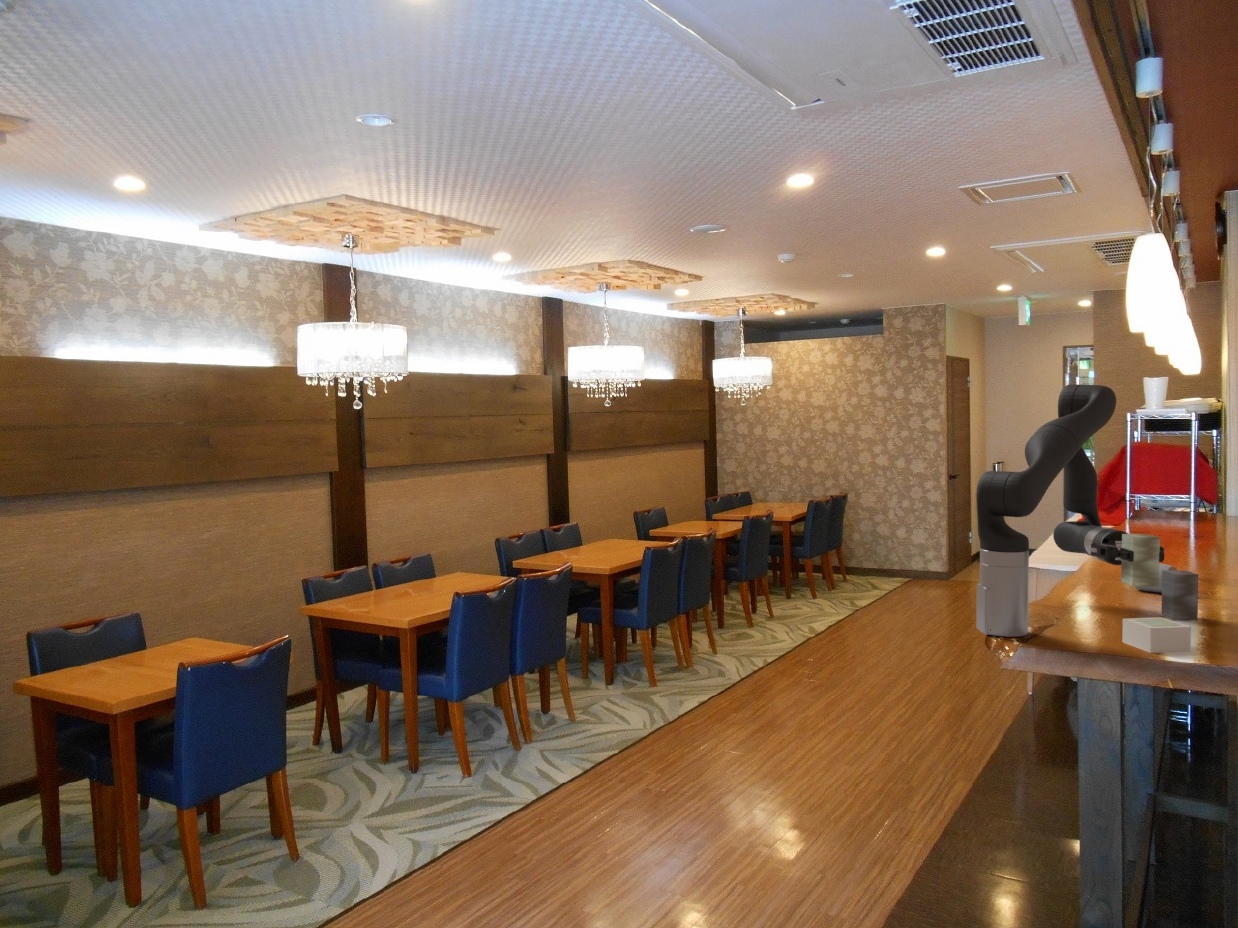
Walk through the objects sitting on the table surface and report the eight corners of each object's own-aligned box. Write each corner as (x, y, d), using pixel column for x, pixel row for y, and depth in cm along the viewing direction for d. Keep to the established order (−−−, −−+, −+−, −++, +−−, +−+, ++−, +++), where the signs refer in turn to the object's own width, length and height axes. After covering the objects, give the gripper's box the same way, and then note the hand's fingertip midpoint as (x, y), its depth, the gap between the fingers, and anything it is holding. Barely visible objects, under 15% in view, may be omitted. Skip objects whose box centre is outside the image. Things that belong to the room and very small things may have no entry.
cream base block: (1150, 653, 165) (1150, 627, 165) (1122, 643, 173) (1122, 618, 173) (1190, 652, 166) (1191, 626, 166) (1160, 641, 174) (1161, 616, 173)
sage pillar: (1132, 586, 177) (1133, 536, 177) (1120, 581, 182) (1122, 533, 182) (1158, 586, 177) (1159, 537, 176) (1146, 582, 182) (1147, 534, 181)
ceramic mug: (1168, 596, 216) (1169, 565, 216) (1132, 591, 222) (1133, 561, 222) (1185, 591, 222) (1186, 561, 222) (1149, 586, 229) (1150, 557, 229)
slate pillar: (1173, 619, 191) (1173, 574, 191) (1161, 614, 196) (1162, 570, 196) (1197, 620, 191) (1198, 574, 190) (1185, 615, 196) (1186, 570, 195)
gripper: (1075, 527, 194) (1109, 537, 177) (1144, 528, 192) (1185, 538, 176) (1074, 561, 194) (1108, 574, 177) (1143, 562, 193) (1184, 575, 176)
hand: (1146, 556), depth 177 cm, fingers closed on sage pillar, 5 cm apart
